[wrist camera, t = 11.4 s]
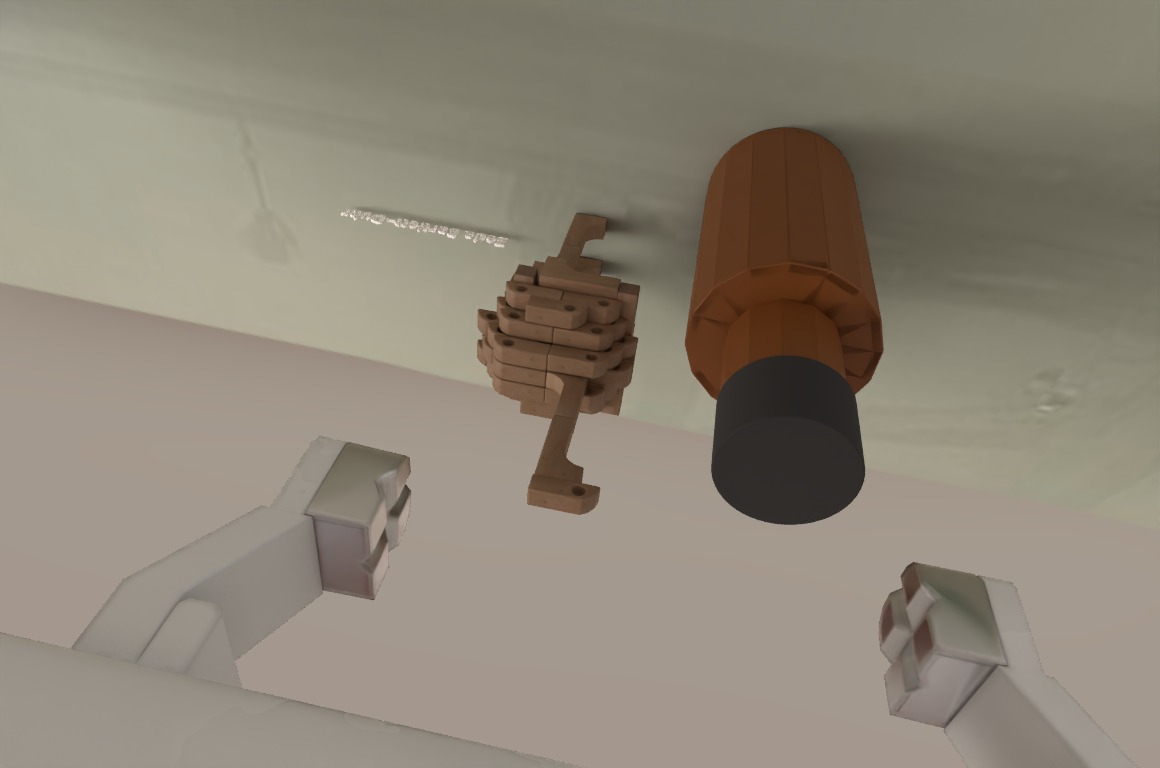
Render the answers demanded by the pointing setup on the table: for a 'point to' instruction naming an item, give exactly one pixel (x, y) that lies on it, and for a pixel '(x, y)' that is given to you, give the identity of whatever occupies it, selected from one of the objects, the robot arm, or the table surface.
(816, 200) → the bottle
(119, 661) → the robot arm
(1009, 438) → the table surface
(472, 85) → the table surface
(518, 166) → the table surface
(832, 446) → the bung
